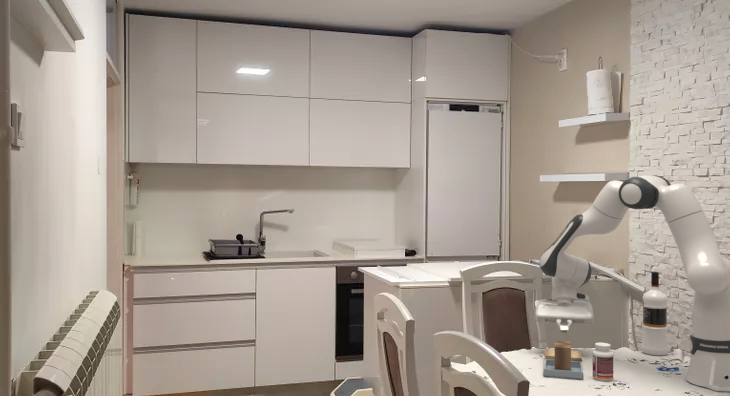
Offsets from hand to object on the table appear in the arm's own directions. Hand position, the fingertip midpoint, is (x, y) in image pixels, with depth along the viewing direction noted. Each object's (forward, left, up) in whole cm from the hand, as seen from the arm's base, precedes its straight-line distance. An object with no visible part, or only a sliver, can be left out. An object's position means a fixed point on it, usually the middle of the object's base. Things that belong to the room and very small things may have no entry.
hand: (564, 331), depth 223 cm
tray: (0, +18, -10) cm, 20 cm away
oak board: (0, +6, -10) cm, 11 cm away
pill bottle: (-12, +21, -10) cm, 26 cm away
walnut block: (0, +14, -5) cm, 15 cm away
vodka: (-32, -19, -10) cm, 38 cm away
